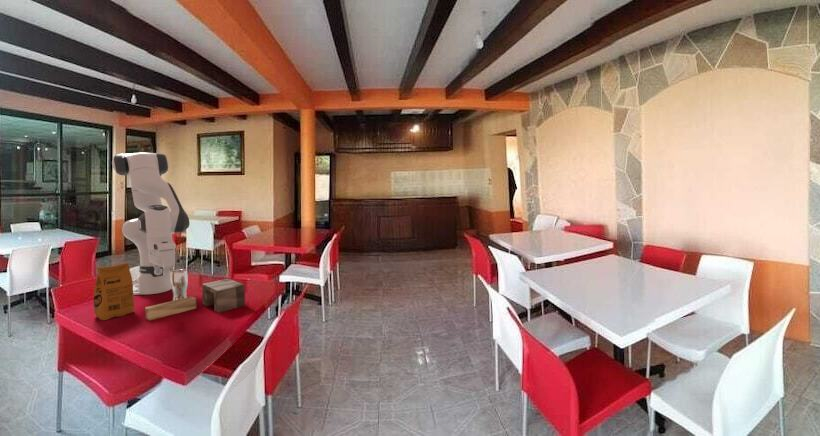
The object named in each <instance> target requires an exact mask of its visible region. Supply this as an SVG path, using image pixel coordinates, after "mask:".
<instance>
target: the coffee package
mask: <svg viewBox="0 0 820 436" xmlns="http://www.w3.org/2000/svg"><path fill="white" fill-rule="evenodd" d="M133 286H134V284H133V277H132V273H131V269H130V265H129V262H124V263H120V264H117V265H112V266H111V265H110V266H97V276H96V279H95V283H94V288H93V313H94V314H95V317H96V318H98V319H99V320H100V321H106V320H110V319H113V318H115V317H118V318H120V317H123V316H126V315H129V314H131V313H134V312H135V299H134V298H135V297H134V296H135V295H134V294H133Z"/></svg>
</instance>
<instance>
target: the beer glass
mask: <svg viewBox="0 0 820 436" xmlns="http://www.w3.org/2000/svg"><path fill="white" fill-rule="evenodd" d="M188 278H189V276H188V270H187V269H186V268H180V269H173V270H170V283H171V287H172V289H171V290H172V301H175V300H179V299H183V298H187V297H188V296H187V289H188V283H189V281H188Z"/></svg>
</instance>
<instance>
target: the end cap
mask: <svg viewBox="0 0 820 436" xmlns="http://www.w3.org/2000/svg"><path fill="white" fill-rule="evenodd" d="M201 286H202V287H201V288H202V289H201V291H202V292H201V293H202V305H203V306H205V307H210V306H213V307H214V309H213V310H214V312H217V313H219V314H220V313H223V312H226V311H230V310H233V308H234V309H237V308H241V307H245V306H246V292H245V291H246V290H245V289H246V287H245V286H246V285H245V284H244V283H241V282H238V281H236V280H232V279H230V278H223V279H219V280H216V281H211V282H206V283H205V282H204V283H202V284H201ZM244 305H245V306H244Z"/></svg>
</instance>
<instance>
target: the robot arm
mask: <svg viewBox="0 0 820 436" xmlns="http://www.w3.org/2000/svg"><path fill="white" fill-rule="evenodd" d="M111 165H112V168H113V170H114V172H115V173H116V174H117V175H119V176H123V177H124V176H125V177H126V176H129V178H130V186H131V192H132V193H131V195H132V199H133V205H134V207H135V208H137V209H138V210H140V211H143V212H144V213H142V214H140V216H138V217H137V218H133V219H129V220H126V221H125V222H124V223H123V224H122V227H121V232H122V235H123V236H124V238H126V239H127V240H129V241H131V242H132V243H133V244H134V245H135V246H136V248H137V250H138V254H139V262H140V265H139V268H138V269H139V271H138V272H139V273H138V275H137V276H136V278H135V279H132V282H133V294H134V296H136V295H153V294H155V295H156V294H161V293H165V292H168V291H171V290H172V287H171V283H170V272H171V268H174V267H175V265H176V251H175V249H176V248H177V244H176V243H175V242H174V239H173V235H174V234H179V233H182V234H183V232H185V231H186V230H187V229H188V228H190V219H189V215H188V214H187V212H186V210H185V209H184V208H183V206H182V204H181V201H180V200H179V197H178V196H177V194H176V191H175V189H174V188H173V186H172V184H171V183H170V182H167V181H166V180H164V179H163V178H162V175H165V174H166V173H167V172H168V171H169V167H170V161H169V159H168V158H167V156H166V155H165V154H164V153H161V152H155V153H154V152H133V153H132V152H131V153H119V154H118V153H117V154H115V155H114V156H113V158H112V161H111ZM161 198H162V199H163V200H165V201H166V203H167V205H168V206H166V205H163V203H162V199H161Z"/></svg>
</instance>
